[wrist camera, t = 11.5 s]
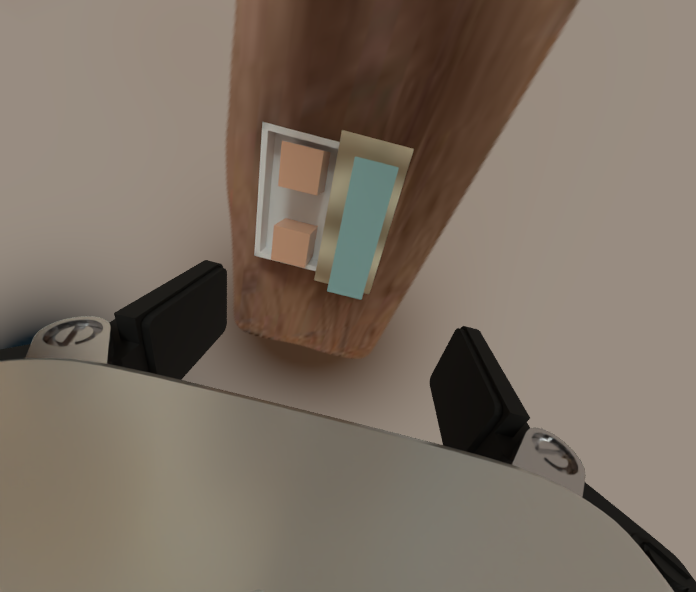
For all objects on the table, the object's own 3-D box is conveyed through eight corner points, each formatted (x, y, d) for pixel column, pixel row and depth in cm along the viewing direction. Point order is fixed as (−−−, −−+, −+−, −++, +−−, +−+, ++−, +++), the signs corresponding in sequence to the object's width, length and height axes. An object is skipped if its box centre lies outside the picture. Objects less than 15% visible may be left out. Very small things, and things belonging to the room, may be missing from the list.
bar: (359, 157, 25) (355, 156, 20) (394, 166, 25) (399, 167, 20) (335, 268, 31) (327, 291, 26) (364, 276, 31) (361, 299, 26)
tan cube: (330, 152, 28) (294, 143, 28) (323, 150, 24) (281, 140, 24) (324, 191, 30) (290, 182, 30) (317, 195, 26) (278, 186, 26)
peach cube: (317, 226, 32) (285, 217, 32) (310, 234, 28) (273, 225, 28) (312, 256, 33) (282, 249, 33) (304, 268, 30) (270, 259, 30)
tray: (271, 124, 28) (262, 121, 25) (343, 143, 28) (340, 142, 25) (262, 249, 34) (254, 255, 32) (320, 264, 34) (316, 271, 32)
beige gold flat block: (345, 132, 27) (342, 130, 25) (410, 150, 27) (413, 148, 25) (319, 271, 35) (314, 280, 32) (370, 284, 35) (369, 294, 32)
